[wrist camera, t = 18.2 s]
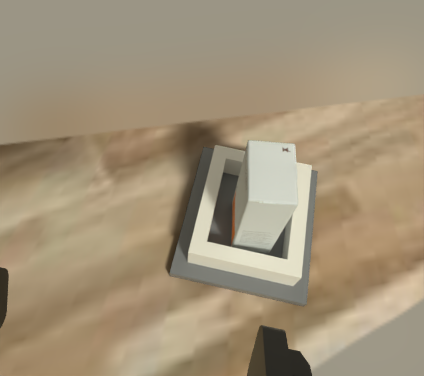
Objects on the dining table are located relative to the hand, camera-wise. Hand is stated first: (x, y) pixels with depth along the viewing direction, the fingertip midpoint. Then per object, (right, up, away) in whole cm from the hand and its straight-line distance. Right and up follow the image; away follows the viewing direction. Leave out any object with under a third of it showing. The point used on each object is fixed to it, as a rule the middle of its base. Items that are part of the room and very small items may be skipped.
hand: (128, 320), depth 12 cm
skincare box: (+7, 0, +30) cm, 31 cm away
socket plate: (+7, 0, +31) cm, 32 cm away
